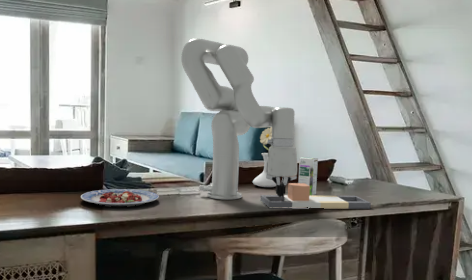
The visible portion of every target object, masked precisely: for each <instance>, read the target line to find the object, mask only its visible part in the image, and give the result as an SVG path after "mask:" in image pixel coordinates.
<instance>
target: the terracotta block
mask: <svg viewBox="0 0 472 280" xmlns="http://www.w3.org/2000/svg"><path fill="white" fill-rule="evenodd" d="M309 193H310V186H308V185H307V184H305V183H298V182H297V183H296V182H293V183H291V182H290V183H289V182H288V183H287V195H288V198H289V199H291V200H292V201H309Z"/></svg>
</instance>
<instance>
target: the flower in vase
mask: <svg viewBox="0 0 472 280" xmlns="http://www.w3.org/2000/svg"><path fill="white" fill-rule="evenodd" d="M271 138H272V127H266V128H265V129H264V130H263V131H262V132H261V134H260V136H259V139H260V140H259V142H260V143H261V144H262V146H263V147H264V148H265V149H266V150H267V151H269V147H267V146H266V145H267V144H268V143H267V141H268V140H270V139H271ZM261 156H262V158H263V162H264V163H263V164H264V165H263V171H262V172H261V173H260V174H259V175H257V176H256V177H255V178H254V179H253V180H252V183H253V185H255V186H256V187H257V186H258V187H261V188H274V187H275V188H276V183H275V182H274V181H273V180H270V179H267V178H266V174H267V172H266V167H267V158H268V152H262V153H261Z"/></svg>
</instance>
